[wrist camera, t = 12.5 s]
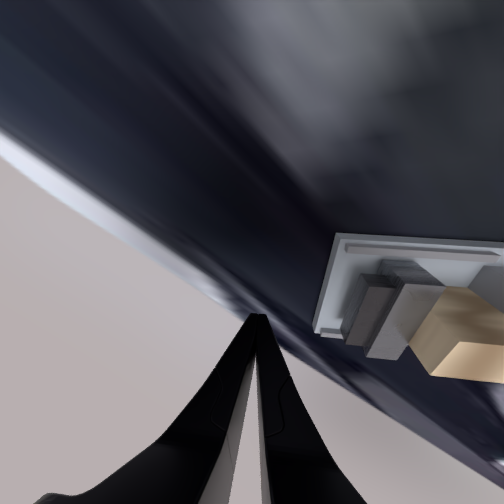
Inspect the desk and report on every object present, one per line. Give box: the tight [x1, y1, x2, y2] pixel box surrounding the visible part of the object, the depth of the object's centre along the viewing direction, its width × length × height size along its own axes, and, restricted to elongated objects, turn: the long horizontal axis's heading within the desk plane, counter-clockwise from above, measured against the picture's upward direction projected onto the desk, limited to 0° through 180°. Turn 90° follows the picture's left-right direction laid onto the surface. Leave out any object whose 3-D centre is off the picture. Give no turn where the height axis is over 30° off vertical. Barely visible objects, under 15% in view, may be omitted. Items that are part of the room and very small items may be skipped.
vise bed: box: [312, 233, 504, 345], centre depth 16 cm, size 14×11×4 cm
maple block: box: [408, 286, 504, 383], centre depth 14 cm, size 5×4×6 cm
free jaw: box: [340, 260, 447, 360], centre depth 15 cm, size 4×8×3 cm, turn 179°
